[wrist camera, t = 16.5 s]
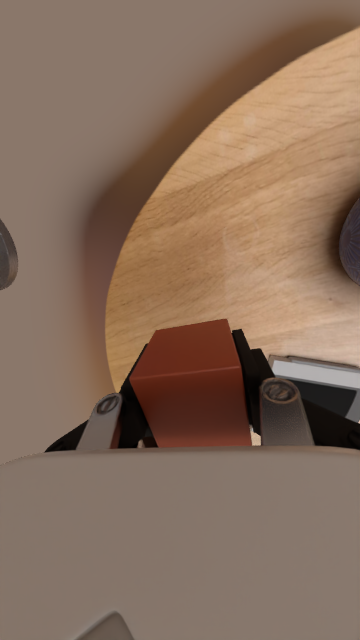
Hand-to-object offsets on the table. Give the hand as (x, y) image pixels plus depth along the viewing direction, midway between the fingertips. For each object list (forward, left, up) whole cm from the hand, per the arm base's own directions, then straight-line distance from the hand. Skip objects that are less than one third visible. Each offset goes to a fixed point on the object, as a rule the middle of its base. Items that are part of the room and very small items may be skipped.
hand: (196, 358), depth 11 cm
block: (0, 0, 0) cm, 0 cm away
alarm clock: (+16, -24, -19) cm, 35 cm away
